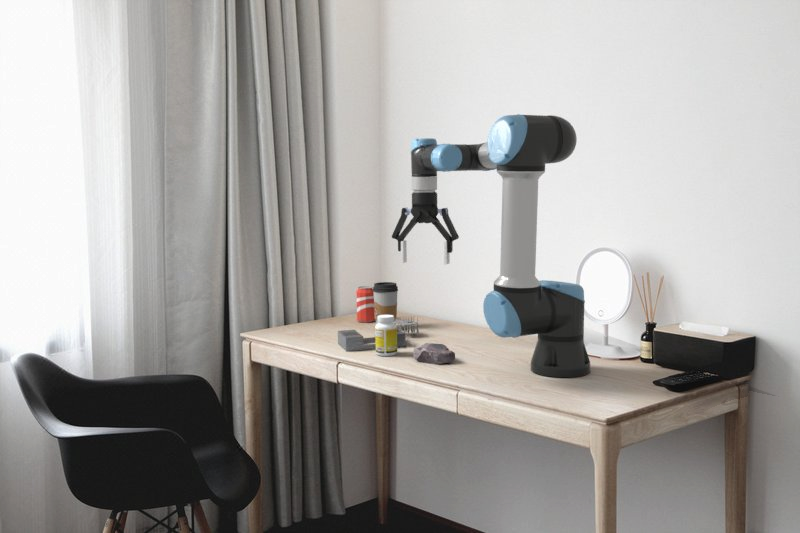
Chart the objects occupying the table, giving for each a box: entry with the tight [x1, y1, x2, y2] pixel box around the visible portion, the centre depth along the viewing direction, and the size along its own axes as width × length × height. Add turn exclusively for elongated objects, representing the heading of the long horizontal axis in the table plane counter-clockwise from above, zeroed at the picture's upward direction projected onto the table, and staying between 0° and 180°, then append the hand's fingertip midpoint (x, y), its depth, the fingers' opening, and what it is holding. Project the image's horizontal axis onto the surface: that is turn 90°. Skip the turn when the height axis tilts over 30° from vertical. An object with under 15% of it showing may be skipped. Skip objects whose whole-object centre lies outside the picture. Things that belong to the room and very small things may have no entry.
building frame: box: [393, 316, 420, 339], centre depth 262 cm, size 6×8×6 cm
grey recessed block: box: [337, 327, 407, 352], centre depth 248 cm, size 11×18×4 cm, turn 107°
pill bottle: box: [374, 315, 398, 357], centre depth 236 cm, size 6×6×11 cm
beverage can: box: [355, 285, 376, 324], centre depth 286 cm, size 6×6×12 cm
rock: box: [412, 342, 456, 365], centre depth 227 cm, size 8×11×4 cm
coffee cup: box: [372, 281, 399, 325], centre depth 272 cm, size 8×8×15 cm
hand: (425, 263), depth 247 cm, fingers open, 13 cm apart
